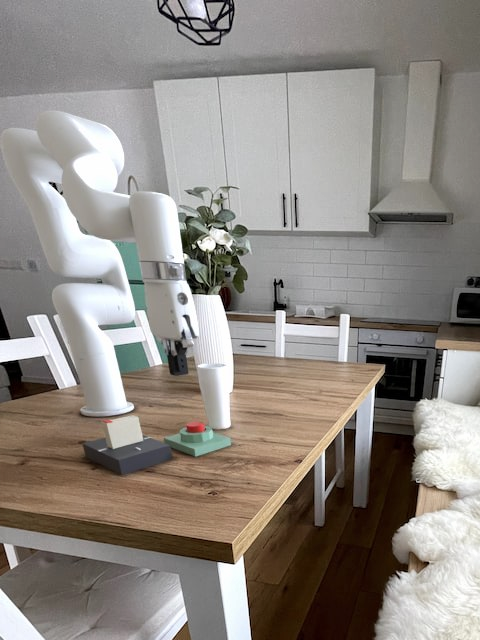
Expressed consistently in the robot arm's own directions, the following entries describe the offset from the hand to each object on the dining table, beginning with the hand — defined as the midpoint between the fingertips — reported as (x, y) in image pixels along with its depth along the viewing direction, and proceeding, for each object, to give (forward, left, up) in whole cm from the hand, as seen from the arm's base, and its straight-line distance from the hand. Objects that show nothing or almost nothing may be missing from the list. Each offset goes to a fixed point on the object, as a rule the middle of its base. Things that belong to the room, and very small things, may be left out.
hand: (179, 374), depth 81 cm
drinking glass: (-5, +11, -15) cm, 20 cm away
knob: (-2, -13, -12) cm, 18 cm away
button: (+2, 0, -12) cm, 12 cm away
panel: (-2, -13, -15) cm, 20 cm away
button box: (+2, 0, -15) cm, 15 cm away
